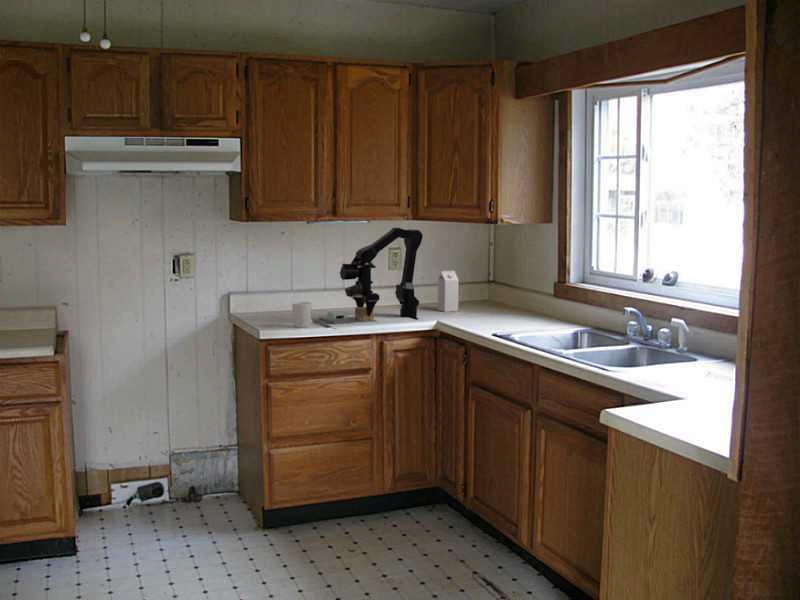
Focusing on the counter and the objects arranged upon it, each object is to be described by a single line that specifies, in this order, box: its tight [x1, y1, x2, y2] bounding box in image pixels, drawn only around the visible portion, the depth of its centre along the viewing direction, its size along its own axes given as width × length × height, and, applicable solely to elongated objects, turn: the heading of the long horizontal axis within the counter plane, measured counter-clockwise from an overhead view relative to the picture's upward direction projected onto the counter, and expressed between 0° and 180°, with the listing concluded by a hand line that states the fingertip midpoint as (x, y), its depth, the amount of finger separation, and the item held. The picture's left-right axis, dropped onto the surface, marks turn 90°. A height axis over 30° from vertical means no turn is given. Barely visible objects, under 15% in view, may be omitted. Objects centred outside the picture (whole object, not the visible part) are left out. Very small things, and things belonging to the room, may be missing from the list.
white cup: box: [291, 301, 312, 329], centre depth 372 cm, size 8×8×10 cm
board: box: [312, 316, 377, 329], centre depth 382 cm, size 24×16×5 cm, turn 116°
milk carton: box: [437, 270, 459, 313], centre depth 418 cm, size 7×7×19 cm
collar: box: [354, 306, 374, 321], centre depth 383 cm, size 6×6×5 cm
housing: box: [326, 310, 348, 322], centre depth 377 cm, size 6×7×4 cm
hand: (364, 314), depth 383 cm, fingers open, 9 cm apart
